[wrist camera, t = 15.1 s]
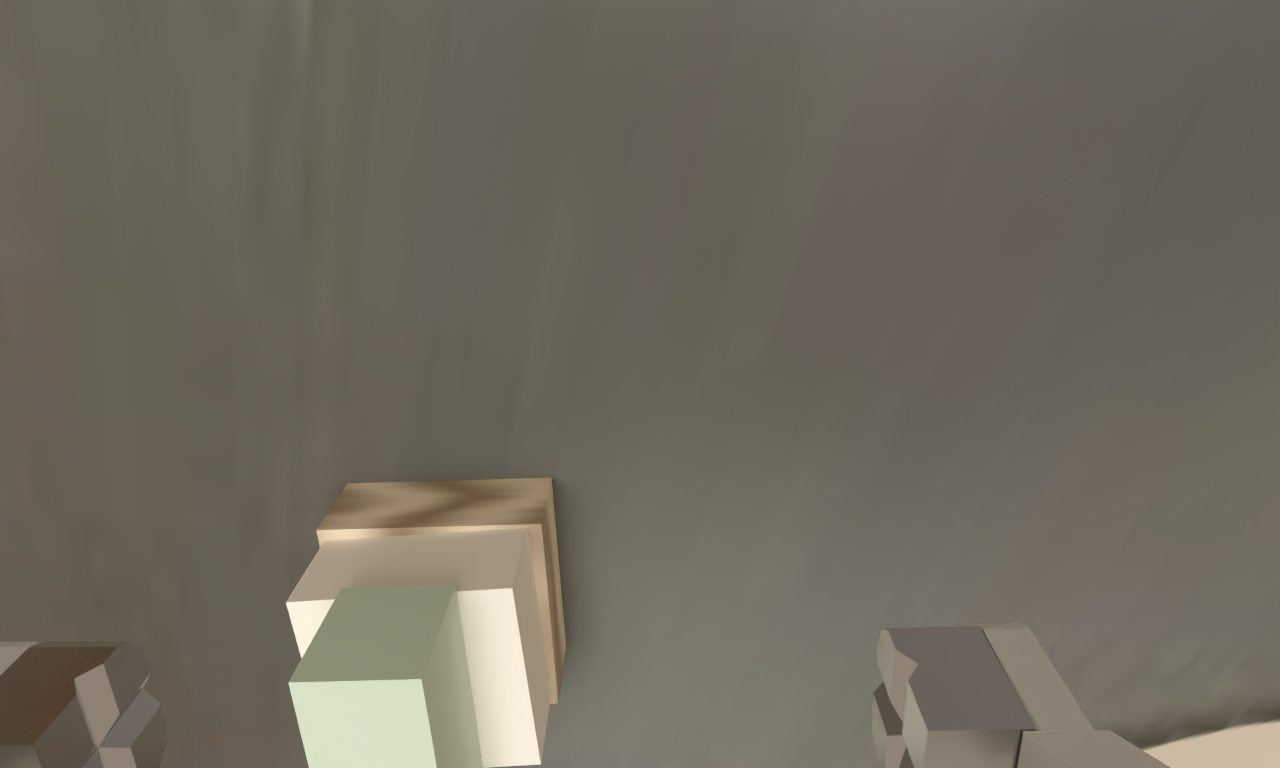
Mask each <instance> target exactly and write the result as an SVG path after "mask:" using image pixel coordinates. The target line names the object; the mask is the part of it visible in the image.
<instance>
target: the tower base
mask: <svg viewBox="0 0 1280 768" xmlns="http://www.w3.org/2000/svg"><path fill="white" fill-rule="evenodd" d="M512 528H527V530H528V537H529V543H530V550H531V557H532V563H533V570H534V576H535V583H536V590H537V596H538V603H539V610H540V616H541V623H542V629H543V636H544V643H545V649H546V656H547V662H548V669H549V676H550V682H551V689H552V693H551V700H550V704H558V701H559V694H560V687H561V679H562V672H563V665H564V657H565V650H566V639H565V628H564V616H563V604H562V593H561V581H560V570H559V558H558V546H557V535H556V523H555V511H554V500H553V488H552V478H521V479H486V480H451V481H416V482H381V483H347V484H346V486H345V487H344V489H343V490H342V492H341V493H340V495H339V497H338V498H337V500H336V501H335V503H334V504H333V506H332V507H331V509H330V510H329V512H328V513H327V515H326V516H325V518H324V519H323V521H322V522H321V524H320V525H319V527H318V529H317V530H316V531H317V535H318V540H319V545H320V547H321V546H322V544H323V543H324V541H329V540H344V539H360V538H375V537H390V536H405V535H421V534H436V533H451V532H466V531H482V530H497V529H512Z"/></svg>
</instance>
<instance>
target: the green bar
mask: <svg viewBox="0 0 1280 768" xmlns="http://www.w3.org/2000/svg"><path fill="white" fill-rule="evenodd" d="M288 683H289V687H290V691H291V695H292V699H293V703H294V708H295V712H296V716H297V720H298V724H299V728H300V732H301V736H302V741H303V745H304V749H305V753H306V757H307V761H308V765H309V768H483V767H482V760H481V754H480V747H479V740H478V733H477V727H476V720H475V713H474V706H473V699H472V693H471V686H470V679H469V672H468V665H467V659H466V652H465V645H464V638H463V632H462V625H461V618H460V611H459V604H458V598H457V591H456V584H454V585H420V586H386V587H352V588H341V589H340V591H339V593H338V595H337V596H336V598H335V600H334V602H333V604H332V605H331V607H330V609H329V611H328V613H327V614H326V616H325V618H324V620H323V622H322V623H321V625H320V627H319V629H318V630H317V632H316V634H315V636H314V638H313V639H312V641H311V643H310V645H309V647H308V648H307V650H306V652H305V654H304V656H303V657H302V659H301V661H300V663H299V665H298V666H297V668H296V670H295V672H294V673H293V675H292V677H291V679H290V681H289V682H288Z"/></svg>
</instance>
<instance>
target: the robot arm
mask: <svg viewBox="0 0 1280 768" xmlns="http://www.w3.org/2000/svg"><path fill="white" fill-rule="evenodd" d="M876 660H877V663H878V666H879V669H880V672H881V675H882V678H883V681H884V682H883V683H882V684H881V685H880V686H879V687H878V688H877V689H876V690H875V691H874V692H873V710H872V724H873V739H874V747H875V752H876V757H877V762H878V766H879V768H1170V767H1169V766H1167V765H1165V764H1164V763H1162V762H1160V761H1159V760H1157V759H1155V758H1154V757H1152V756H1150V755H1149V754H1147V753H1146V752H1144V751H1142V750H1141V749H1139V748H1138V747H1136V746H1134V745H1133V744H1131V743H1129V742H1128V741H1126V740H1124V739H1123V738H1121V737H1120V736H1118V735H1116V734H1115V733H1113V732H1111V731H1110V730H1094V729H1093V727H1092V725H1091V724H1090V722H1089V721H1088V719H1087V718H1086V716H1085V714H1084V713H1083V711H1082V710H1081V708H1080V707H1079V705H1078V703H1077V702H1076V700H1075V699H1074V697H1073V696H1072V694H1071V692H1070V691H1069V689H1068V688H1067V686H1066V685H1065V683H1064V681H1063V680H1062V678H1061V677H1060V675H1059V674H1058V672H1057V670H1056V669H1055V667H1054V666H1053V664H1052V663H1051V661H1050V659H1049V658H1048V656H1047V655H1046V653H1045V652H1044V650H1043V649H1042V647H1041V645H1040V644H1039V642H1038V641H1037V639H1036V638H1035V636H1034V634H1033V633H1032V631H1031V630H1030V628H1029V627H1027V626H1025V625H1024V624H1022V623H1004V624H982V625H974V627H928V628H884V629H881V632H880V635H879V638H878V645H877V656H876ZM150 674H151V669H150V666H149V663H148V660H147V658H146V655H145V652H144V649H143V647H141V646H138V645H136V644H134V643H132V642H88V641H45V642H0V768H160V765H161V761H162V758H163V754H164V751H165V747H166V720H165V717H164V713H163V709H162V706H161V704H160V703H159V702H158V701H157V700H156V699H154V698H153V697H152V696H151V695H150V694H149V693H147V692H146V691H145V690H144V689H143V687H144V685H145V683H146V681H147V679H148V678H149V676H150Z"/></svg>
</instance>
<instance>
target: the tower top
mask: <svg viewBox="0 0 1280 768" xmlns="http://www.w3.org/2000/svg"><path fill="white" fill-rule="evenodd" d="M454 584H456V591H457V598H458V604H459V611H460V618H461V625H462V632H463V638H464V645H465V652H466V659H467V665H468V672H469V679H470V686H471V693H472V699H473V706H474V713H475V720H476V727H477V733H478V740H479V747H480V754H481V760H482V767H502V766H520V765H539V764H541V761H542V754H543V747H544V740H545V734H546V727H547V720H548V714H549V707H550V700H551V693H552V689H551V682H550V676H549V669H548V662H547V656H546V649H545V643H544V636H543V629H542V623H541V616H540V610H539V603H538V596H537V590H536V583H535V576H534V570H533V563H532V557H531V550H530V543H529V537H528V530H527V528H512V529H497V530H482V531H466V532H451V533H436V534H421V535H405V536H390V537H375V538H360V539H344V540H329V541H324V543H323V544H322V546H321V547H320V549H319V551H318V552H317V554H316V555H315V557H314V559H313V560H312V562H311V563H310V565H309V566H308V568H307V570H306V571H305V573H304V574H303V576H302V578H301V579H300V581H299V582H298V584H297V586H296V587H295V589H294V590H293V592H292V594H291V595H290V597H289V598H288V600H287V601H286V604H287V608H288V611H289V615H290V619H291V622H292V626H293V629H294V633H295V637H296V640H297V644H298V647H299V651H300V654H301V658H302V657H303V656H304V654H305V652H306V650H307V648H308V647H309V645H310V643H311V641H312V639H313V638H314V636H315V634H316V632H317V630H318V629H319V627H320V625H321V623H322V622H323V620H324V618H325V616H326V614H327V613H328V611H329V609H330V607H331V605H332V604H333V602H334V600H335V598H336V596H337V595H338V593H339V591H340V589H341V588H352V587H386V586H420V585H454Z"/></svg>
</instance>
